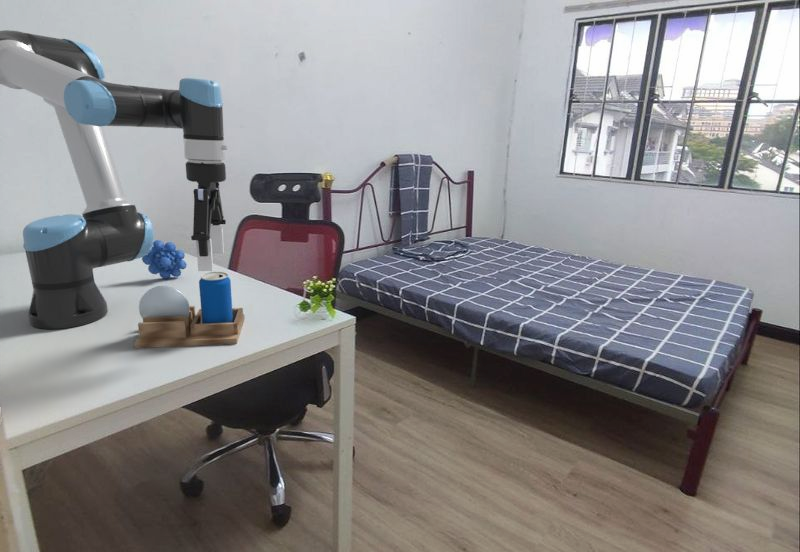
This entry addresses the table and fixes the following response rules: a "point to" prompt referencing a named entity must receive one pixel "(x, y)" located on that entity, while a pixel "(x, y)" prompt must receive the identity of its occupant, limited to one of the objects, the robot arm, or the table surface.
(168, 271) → the blue bumpy lump
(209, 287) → the beverage can
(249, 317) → the table surface
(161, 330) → the wooden holder tray
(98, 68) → the robot arm
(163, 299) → the pale blue plate
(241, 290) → the table surface
